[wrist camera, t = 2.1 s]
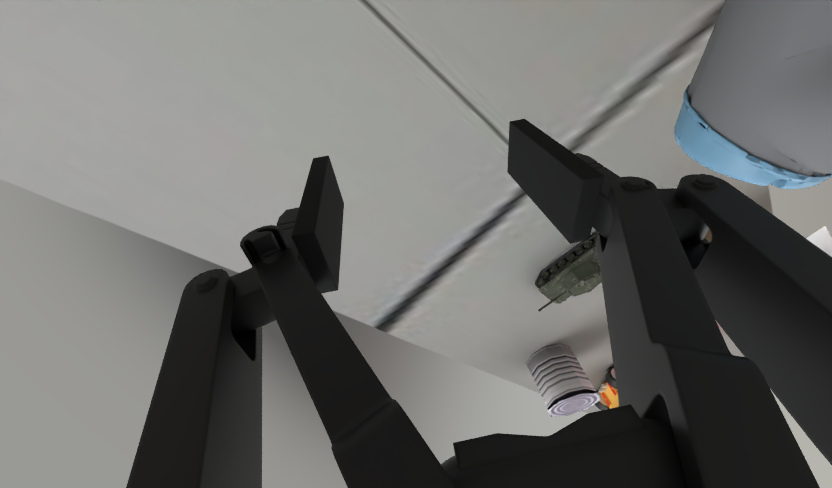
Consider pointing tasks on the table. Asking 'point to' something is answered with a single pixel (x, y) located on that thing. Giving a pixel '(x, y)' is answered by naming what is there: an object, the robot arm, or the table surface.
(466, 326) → the table surface
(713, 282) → the robot arm
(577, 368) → the can
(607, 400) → the orange toy truck
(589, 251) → the toy tank
